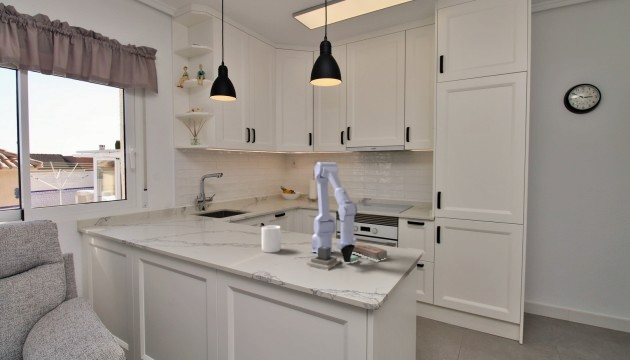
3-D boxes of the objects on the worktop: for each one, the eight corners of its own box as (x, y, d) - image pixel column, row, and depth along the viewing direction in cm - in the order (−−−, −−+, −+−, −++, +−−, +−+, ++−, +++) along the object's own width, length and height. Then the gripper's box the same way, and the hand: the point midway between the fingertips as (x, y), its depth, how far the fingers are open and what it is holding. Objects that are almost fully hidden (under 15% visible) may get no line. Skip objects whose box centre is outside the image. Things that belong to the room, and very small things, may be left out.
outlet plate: (307, 265, 130) (307, 259, 129) (322, 258, 140) (322, 252, 139) (327, 270, 124) (327, 263, 124) (341, 262, 134) (341, 256, 134)
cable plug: (344, 262, 134) (344, 257, 134) (352, 259, 138) (353, 254, 138) (350, 264, 132) (350, 258, 132) (359, 261, 136) (359, 256, 136)
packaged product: (390, 249, 140) (376, 252, 134) (390, 259, 140) (375, 263, 134) (361, 240, 154) (347, 244, 148) (361, 250, 154) (347, 253, 148)
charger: (317, 261, 131) (317, 247, 131) (322, 259, 134) (322, 245, 134) (325, 263, 129) (325, 249, 128) (330, 260, 132) (330, 247, 132)
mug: (270, 254, 145) (270, 230, 144) (254, 249, 153) (254, 226, 152) (284, 250, 152) (284, 227, 152) (268, 245, 160) (268, 223, 159)
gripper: (347, 235, 123) (347, 268, 124) (362, 228, 135) (362, 259, 136) (332, 232, 127) (332, 264, 127) (348, 226, 139) (348, 256, 139)
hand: (346, 261), depth 132 cm, fingers closed
